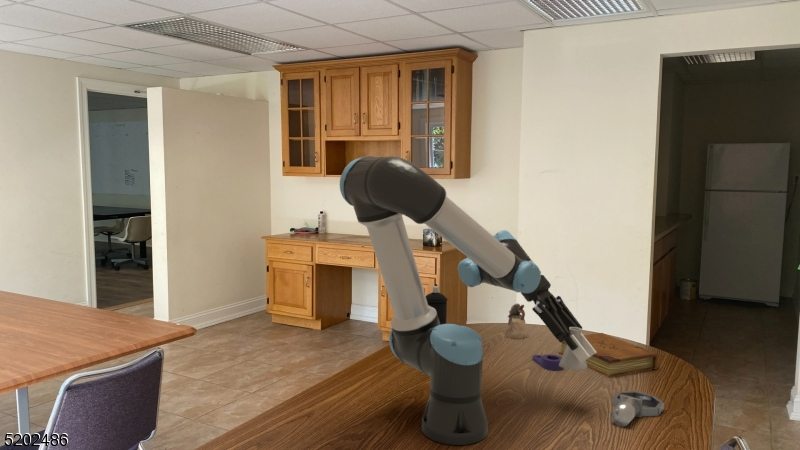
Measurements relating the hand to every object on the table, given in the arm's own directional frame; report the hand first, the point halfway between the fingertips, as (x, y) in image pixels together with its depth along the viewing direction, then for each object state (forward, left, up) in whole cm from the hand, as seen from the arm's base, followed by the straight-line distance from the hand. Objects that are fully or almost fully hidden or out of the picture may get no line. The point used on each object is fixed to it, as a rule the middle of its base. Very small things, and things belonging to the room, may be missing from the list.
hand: (588, 357), depth 143 cm
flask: (0, +4, -4) cm, 5 cm away
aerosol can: (+20, +60, -14) cm, 65 cm away
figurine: (+47, +43, -14) cm, 65 cm away
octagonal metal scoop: (+7, -9, -14) cm, 18 cm away
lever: (+26, +22, -14) cm, 37 cm away
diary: (+41, +9, -14) cm, 44 cm away
